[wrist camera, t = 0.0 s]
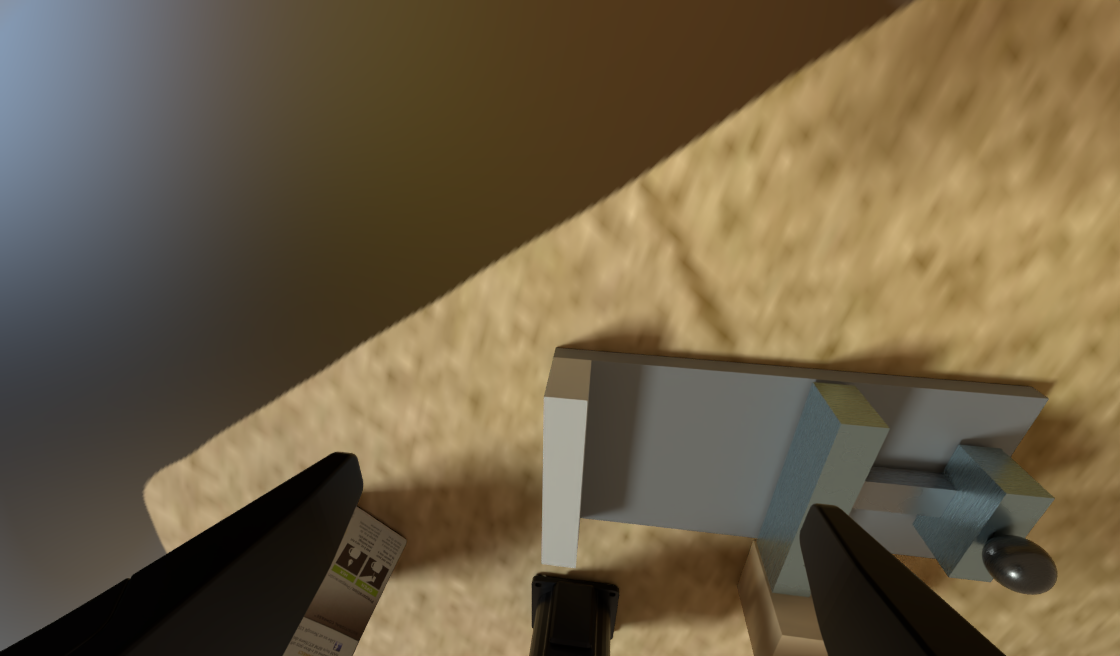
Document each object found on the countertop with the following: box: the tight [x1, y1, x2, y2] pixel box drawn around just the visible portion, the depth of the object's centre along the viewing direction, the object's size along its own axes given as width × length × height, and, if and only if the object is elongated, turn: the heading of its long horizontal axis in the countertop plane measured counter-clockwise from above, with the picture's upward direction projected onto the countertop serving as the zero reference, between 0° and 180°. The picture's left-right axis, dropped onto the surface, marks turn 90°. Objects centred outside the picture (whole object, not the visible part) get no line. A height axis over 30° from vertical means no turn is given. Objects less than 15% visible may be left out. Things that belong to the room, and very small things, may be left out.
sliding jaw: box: [757, 382, 1057, 597], centre depth 22 cm, size 12×10×6 cm
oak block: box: [737, 540, 828, 656], centre depth 28 cm, size 5×7×6 cm
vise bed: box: [542, 348, 1048, 568], centre depth 24 cm, size 12×24×4 cm, turn 88°
